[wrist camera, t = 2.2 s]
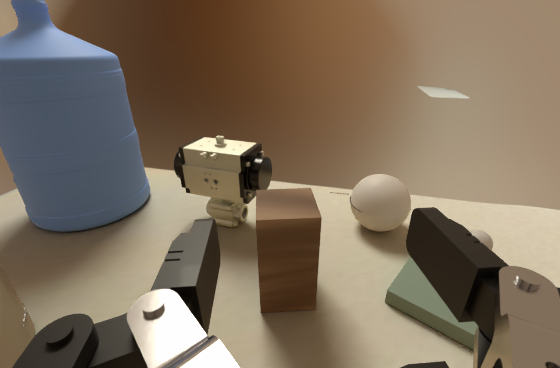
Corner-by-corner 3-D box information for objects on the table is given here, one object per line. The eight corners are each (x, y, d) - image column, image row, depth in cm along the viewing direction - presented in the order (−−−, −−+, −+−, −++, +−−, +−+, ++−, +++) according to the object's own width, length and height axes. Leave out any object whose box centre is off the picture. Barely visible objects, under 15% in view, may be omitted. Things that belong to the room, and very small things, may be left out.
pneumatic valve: (202, 205, 44) (190, 127, 38) (273, 219, 40) (272, 135, 35) (178, 224, 39) (162, 139, 34) (257, 242, 35) (252, 150, 30)
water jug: (171, 188, 49) (132, -8, 37) (95, 243, 35) (-6, -38, 23) (97, 178, 53) (39, -2, 40) (3, 225, 39) (-127, -25, 27)
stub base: (516, 373, 21) (560, 299, 18) (384, 302, 27) (398, 235, 24) (527, 293, 28) (560, 228, 24) (419, 249, 34) (434, 192, 30)
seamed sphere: (410, 221, 39) (421, 172, 36) (397, 251, 34) (409, 196, 30) (341, 202, 44) (346, 157, 41) (320, 225, 39) (323, 175, 35)
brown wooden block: (315, 309, 26) (321, 217, 22) (260, 312, 26) (255, 220, 22) (307, 270, 31) (310, 188, 26) (260, 273, 30) (256, 190, 26)
